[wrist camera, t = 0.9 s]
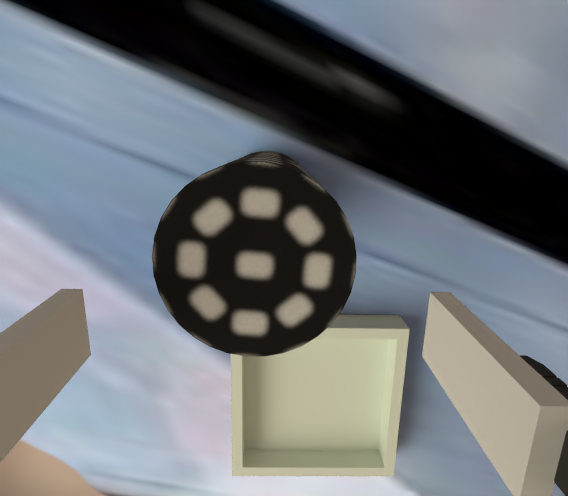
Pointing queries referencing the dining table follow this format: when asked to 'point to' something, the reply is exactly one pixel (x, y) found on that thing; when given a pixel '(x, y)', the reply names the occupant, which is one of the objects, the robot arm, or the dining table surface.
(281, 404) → the tray
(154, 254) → the spotted tube
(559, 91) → the dining table surface
